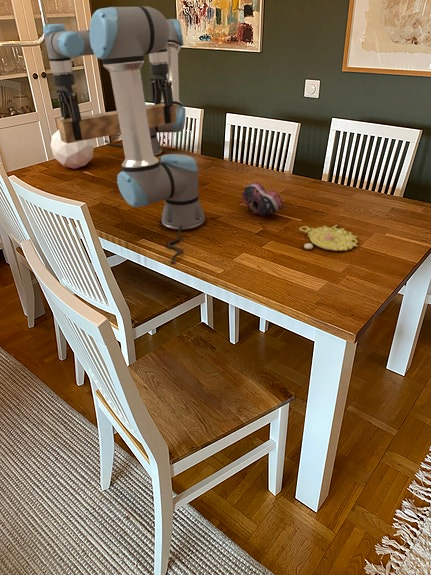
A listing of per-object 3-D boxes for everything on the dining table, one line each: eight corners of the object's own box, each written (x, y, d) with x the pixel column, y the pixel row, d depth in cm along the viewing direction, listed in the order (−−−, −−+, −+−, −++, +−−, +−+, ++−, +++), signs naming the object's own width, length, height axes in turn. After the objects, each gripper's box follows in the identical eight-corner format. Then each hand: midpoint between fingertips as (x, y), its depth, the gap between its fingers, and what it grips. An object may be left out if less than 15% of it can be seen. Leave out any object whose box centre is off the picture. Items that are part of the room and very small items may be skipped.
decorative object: (343, 255, 128) (285, 234, 139) (342, 262, 130) (284, 241, 140) (372, 230, 142) (317, 213, 152) (371, 237, 143) (316, 219, 153)
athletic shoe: (254, 181, 170) (227, 189, 167) (283, 176, 151) (253, 185, 147) (260, 210, 173) (234, 218, 170) (290, 209, 154) (261, 219, 150)
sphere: (81, 183, 214) (66, 157, 195) (51, 163, 218) (34, 136, 200) (107, 156, 219) (95, 128, 200) (77, 137, 223) (63, 108, 205)
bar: (67, 143, 170) (62, 122, 165) (61, 140, 173) (56, 120, 169) (176, 122, 196) (175, 104, 192) (169, 120, 200) (167, 102, 196)
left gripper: (179, 64, 178) (183, 123, 191) (154, 60, 191) (159, 117, 203) (163, 65, 174) (168, 126, 187) (139, 62, 187) (145, 119, 199)
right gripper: (83, 74, 157) (94, 141, 169) (62, 70, 169) (74, 132, 182) (63, 76, 153) (76, 144, 165) (43, 72, 165) (56, 135, 178)
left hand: (164, 121), depth 195 cm, fingers closed on bar, 6 cm apart
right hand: (75, 138), depth 173 cm, fingers closed on bar, 6 cm apart
